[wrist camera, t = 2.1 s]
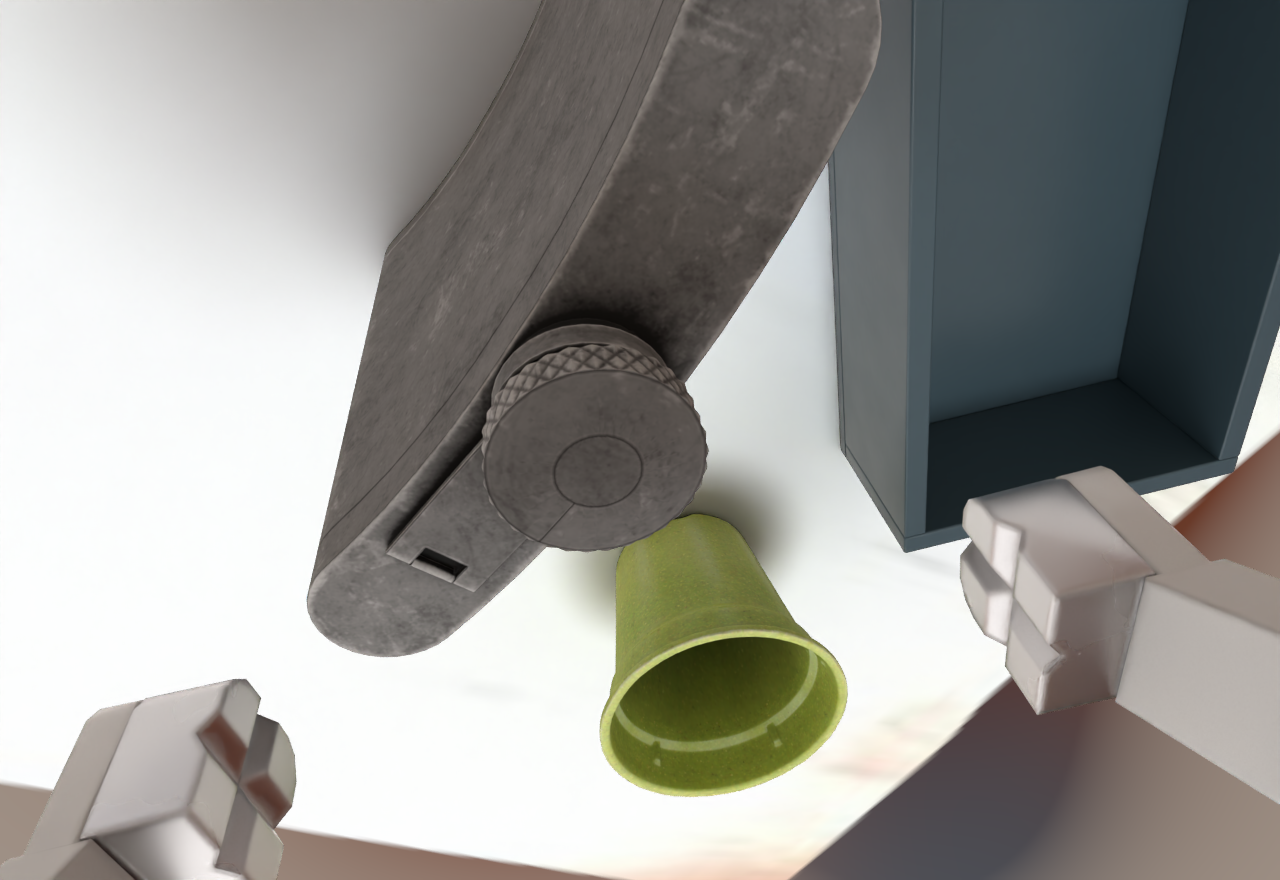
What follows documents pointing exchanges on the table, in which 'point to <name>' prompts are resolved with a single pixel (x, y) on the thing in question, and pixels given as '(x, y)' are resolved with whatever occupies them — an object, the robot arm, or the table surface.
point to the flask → (574, 299)
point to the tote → (1055, 247)
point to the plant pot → (711, 668)
